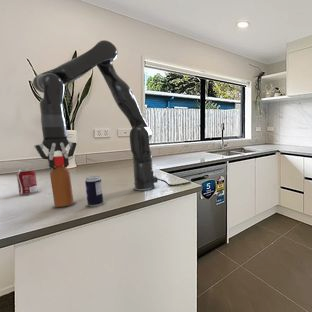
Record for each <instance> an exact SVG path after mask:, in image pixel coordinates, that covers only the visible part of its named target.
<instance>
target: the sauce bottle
mask: <svg viewBox="0 0 312 312" xmlns="http://www.w3.org/2000/svg"><path fill="white" fill-rule="evenodd" d="M70 171H71V170H70V169H69V168H68V167H64V166H55V169H51V171H49V176H50V184H51V190H52V198H53V204H54V207H55V208H56V207H57V208H59V207H61V208H62V207H66V206H70V205H72V204H74V195H73V187H72V180H71V172H70Z"/></svg>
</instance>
